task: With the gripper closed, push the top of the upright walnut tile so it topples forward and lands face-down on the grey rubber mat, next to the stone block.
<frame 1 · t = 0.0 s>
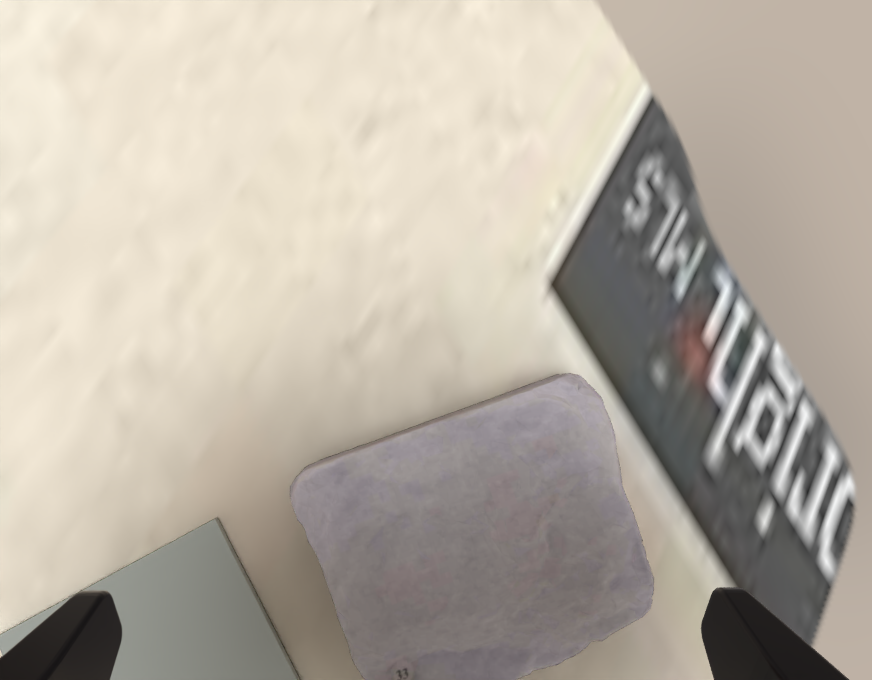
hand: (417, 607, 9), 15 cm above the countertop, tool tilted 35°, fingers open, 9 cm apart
stone block: (476, 530, 25), on the countertop
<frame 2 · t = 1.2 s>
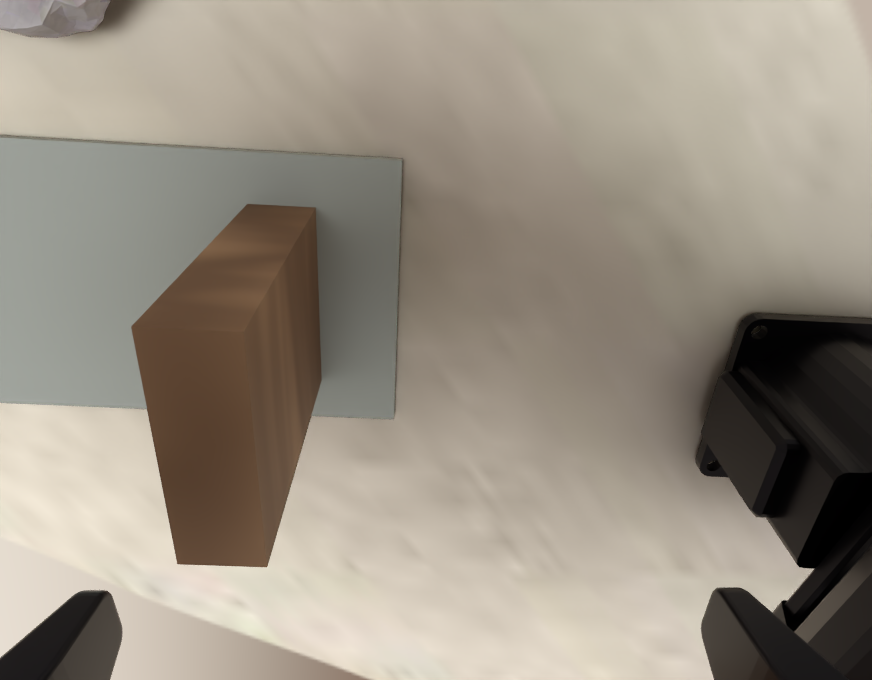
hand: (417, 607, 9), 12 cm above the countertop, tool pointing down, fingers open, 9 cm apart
rubber mat: (163, 288, 20), on the countertop
walnut tile: (287, 298, 20), resting on rubber mat
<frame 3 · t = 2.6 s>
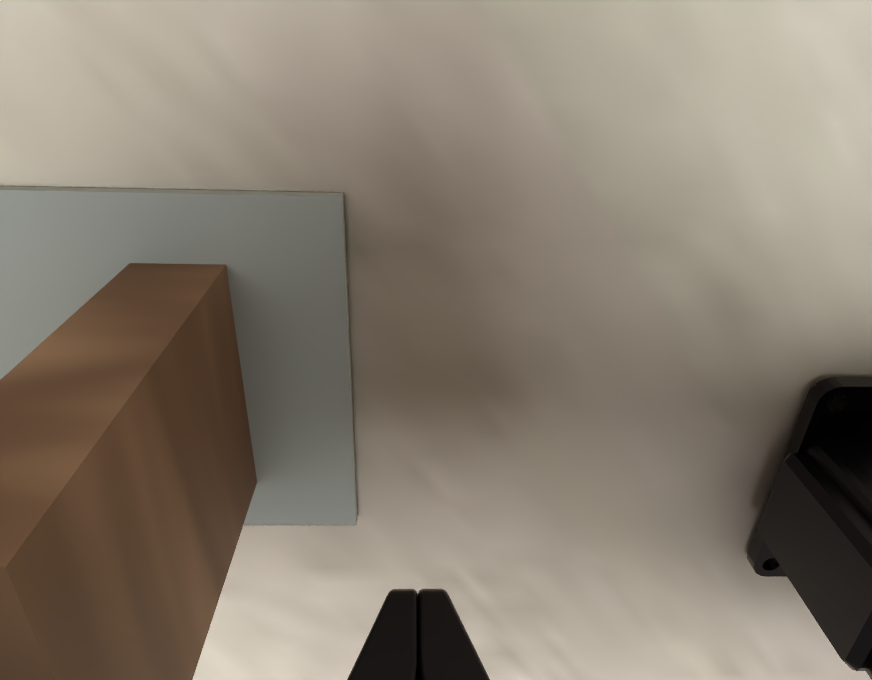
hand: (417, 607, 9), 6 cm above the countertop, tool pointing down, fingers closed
rubber mat: (31, 375, 14), on the countertop
walnut tile: (199, 383, 14), resting on rubber mat
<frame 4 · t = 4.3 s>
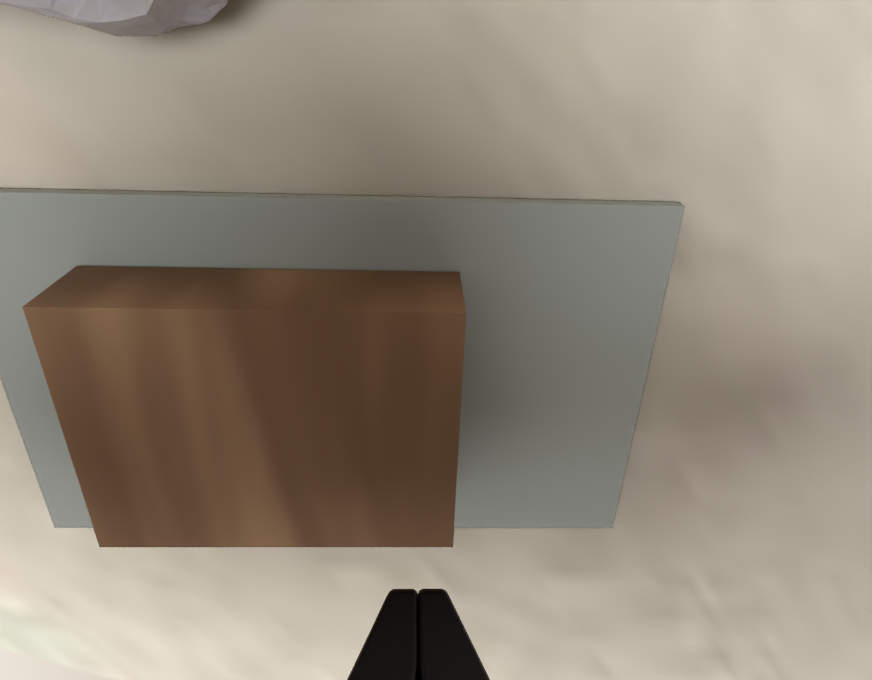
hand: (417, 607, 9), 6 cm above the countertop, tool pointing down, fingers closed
rubber mat: (330, 380, 15), on the countertop
walnut tile: (456, 414, 14), point 1 cm above the countertop, tilted 90°, touching rubber mat
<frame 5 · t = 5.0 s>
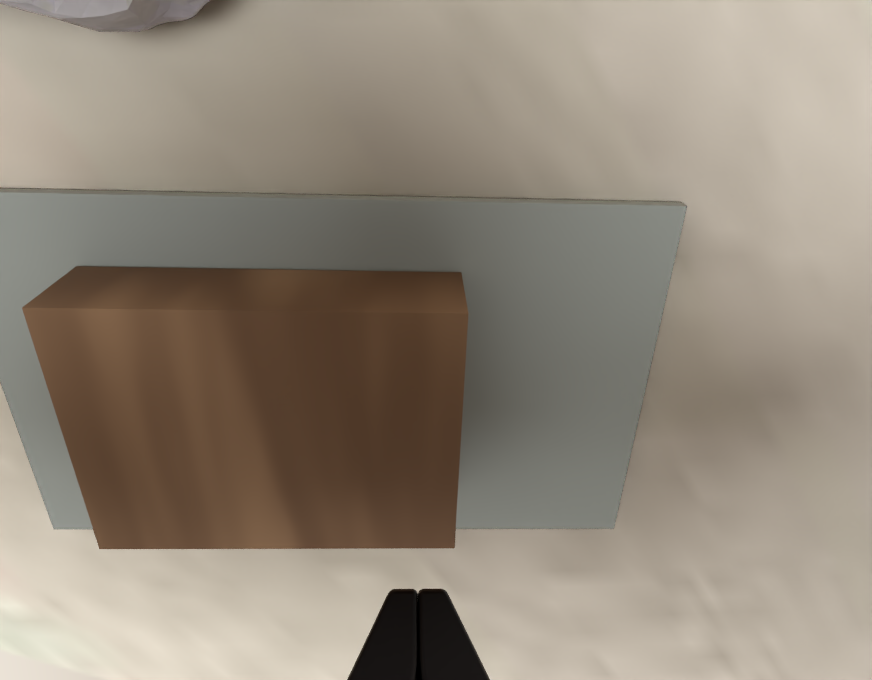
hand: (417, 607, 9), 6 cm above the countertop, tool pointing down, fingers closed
rubber mat: (331, 381, 15), on the countertop
walnut tile: (457, 415, 14), point 1 cm above the countertop, tilted 90°, touching rubber mat
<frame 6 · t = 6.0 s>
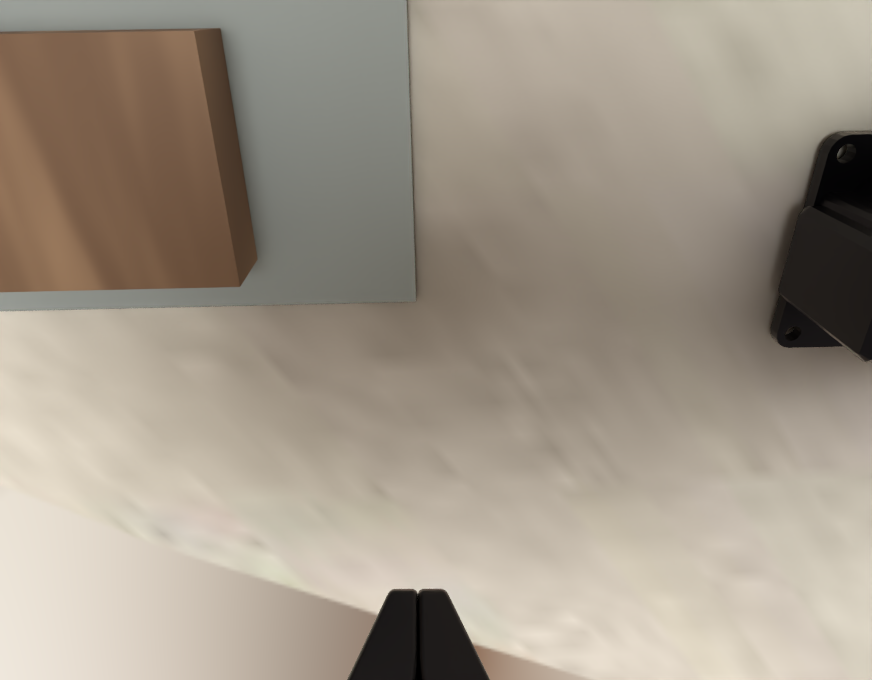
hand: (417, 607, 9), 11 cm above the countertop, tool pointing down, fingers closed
rubber mat: (135, 153, 17), on the countertop
walnut tile: (230, 162, 16), point 1 cm above the countertop, tilted 90°, touching rubber mat
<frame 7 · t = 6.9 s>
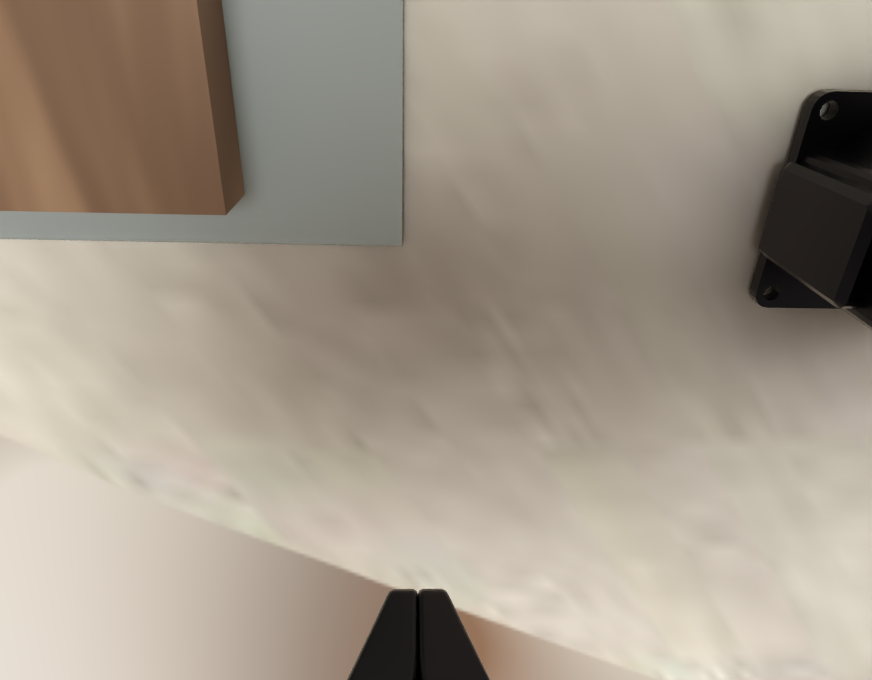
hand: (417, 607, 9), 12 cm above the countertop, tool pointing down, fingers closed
rubber mat: (125, 78, 17), on the countertop
walnut tile: (220, 87, 16), point 1 cm above the countertop, tilted 90°, touching rubber mat
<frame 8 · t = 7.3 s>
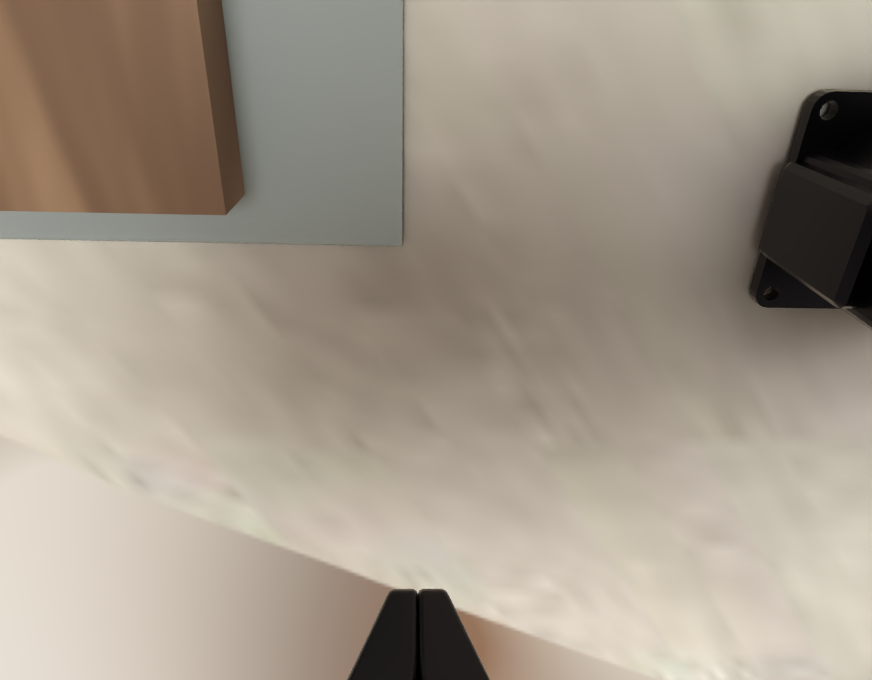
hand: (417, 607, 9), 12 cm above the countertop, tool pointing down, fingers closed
rubber mat: (125, 78, 17), on the countertop
walnut tile: (220, 87, 16), point 1 cm above the countertop, tilted 90°, touching rubber mat
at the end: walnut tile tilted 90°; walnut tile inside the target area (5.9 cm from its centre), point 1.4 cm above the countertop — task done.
